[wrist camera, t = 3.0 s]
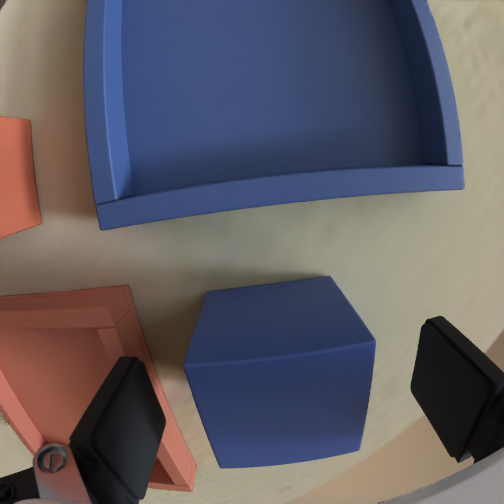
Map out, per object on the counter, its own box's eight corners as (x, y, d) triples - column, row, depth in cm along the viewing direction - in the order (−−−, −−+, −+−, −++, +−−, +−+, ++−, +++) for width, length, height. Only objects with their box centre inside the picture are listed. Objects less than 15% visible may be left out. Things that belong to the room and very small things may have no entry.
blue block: (206, 290, 11) (181, 365, 6) (330, 274, 11) (377, 339, 6) (226, 385, 12) (219, 469, 7) (331, 372, 12) (360, 451, 7)
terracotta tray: (-29, 298, 11) (-50, 311, 9) (129, 284, 11) (107, 306, 9) (48, 443, 14) (37, 460, 12) (197, 465, 14) (193, 492, 12)
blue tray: (113, -32, 7) (95, -53, 5) (374, -52, 7) (388, -74, 5) (124, 220, 10) (99, 231, 8) (434, 185, 10) (465, 189, 8)
